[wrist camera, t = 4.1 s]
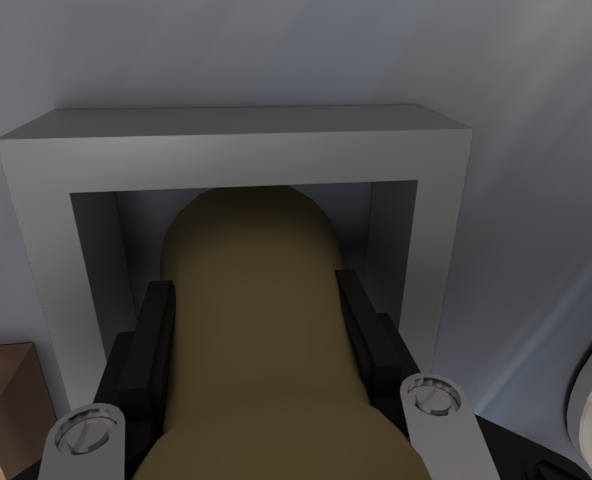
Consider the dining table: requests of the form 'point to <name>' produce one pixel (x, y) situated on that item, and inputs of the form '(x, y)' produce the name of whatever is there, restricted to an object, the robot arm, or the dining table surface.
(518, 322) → the dining table surface
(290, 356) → the cork
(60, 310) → the grey square frame
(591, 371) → the robot arm
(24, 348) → the socket block
